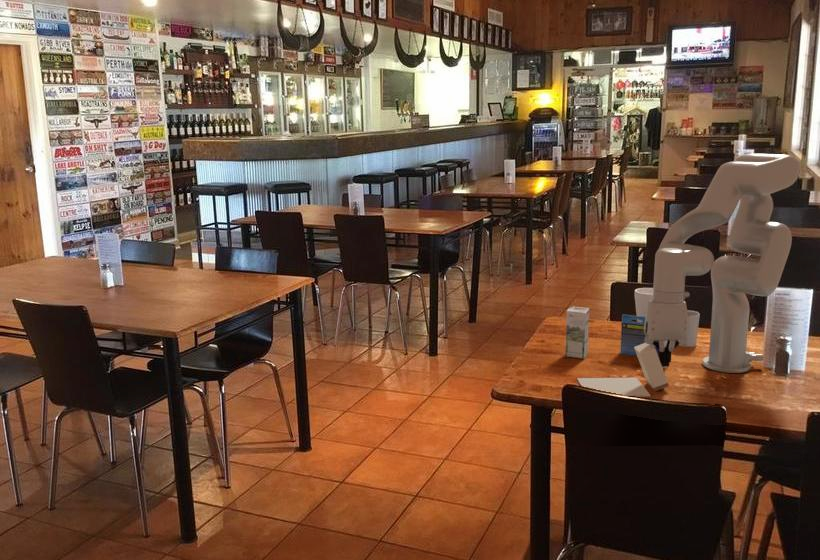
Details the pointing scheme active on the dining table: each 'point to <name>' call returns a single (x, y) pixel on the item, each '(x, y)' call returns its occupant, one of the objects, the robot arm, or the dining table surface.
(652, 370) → the tall block
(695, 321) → the drinking glass
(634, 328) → the label tape box
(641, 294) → the foam cup
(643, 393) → the felt mat
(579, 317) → the syrup box
